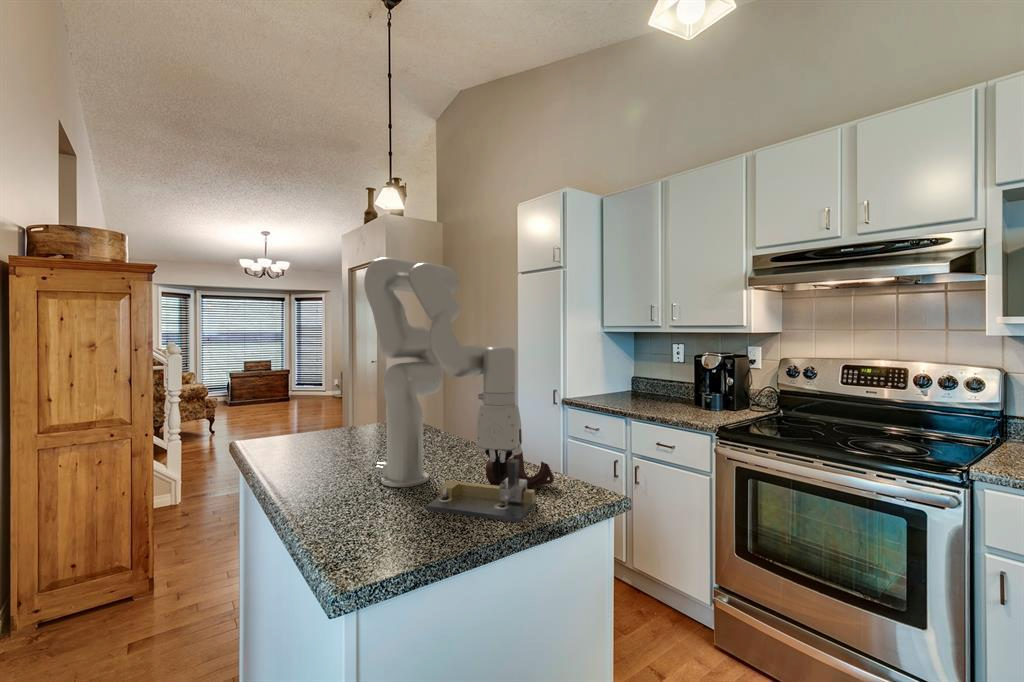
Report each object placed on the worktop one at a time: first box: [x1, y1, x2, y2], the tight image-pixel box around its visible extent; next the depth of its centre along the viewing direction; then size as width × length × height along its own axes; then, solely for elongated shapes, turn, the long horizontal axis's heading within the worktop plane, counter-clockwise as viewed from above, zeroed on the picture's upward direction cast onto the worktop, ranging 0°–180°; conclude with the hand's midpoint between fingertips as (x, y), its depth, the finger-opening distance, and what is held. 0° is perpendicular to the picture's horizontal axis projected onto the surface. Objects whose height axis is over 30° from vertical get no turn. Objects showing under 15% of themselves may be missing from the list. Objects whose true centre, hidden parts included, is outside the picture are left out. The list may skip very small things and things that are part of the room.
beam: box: [439, 479, 536, 504], centre depth 109 cm, size 22×6×2 cm, turn 71°
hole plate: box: [425, 495, 537, 524], centre depth 107 cm, size 22×12×1 cm, turn 71°
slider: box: [499, 459, 528, 506], centre depth 108 cm, size 5×8×9 cm, turn 161°
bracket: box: [485, 450, 555, 488], centre depth 124 cm, size 6×17×10 cm, turn 76°
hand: (499, 477), depth 110 cm, fingers closed
